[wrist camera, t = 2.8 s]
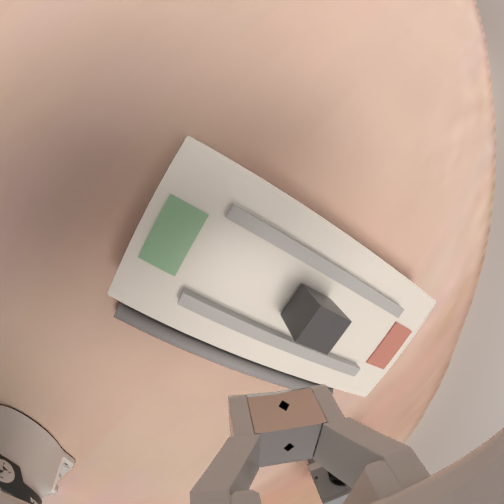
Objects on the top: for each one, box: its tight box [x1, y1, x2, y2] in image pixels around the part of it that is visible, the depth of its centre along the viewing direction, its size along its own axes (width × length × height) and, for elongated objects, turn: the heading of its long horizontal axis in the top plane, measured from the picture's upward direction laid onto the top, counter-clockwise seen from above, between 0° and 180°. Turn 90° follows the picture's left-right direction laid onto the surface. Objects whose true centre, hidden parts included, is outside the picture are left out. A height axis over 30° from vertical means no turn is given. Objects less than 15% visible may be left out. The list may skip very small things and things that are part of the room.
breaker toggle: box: [280, 283, 352, 355], centre depth 21 cm, size 3×3×4 cm
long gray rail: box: [114, 302, 333, 394], centre depth 29 cm, size 3×26×2 cm, turn 58°
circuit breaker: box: [307, 458, 352, 504], centre depth 31 cm, size 8×14×15 cm, turn 20°
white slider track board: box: [107, 136, 437, 397], centre depth 25 cm, size 13×28×6 cm, turn 58°
